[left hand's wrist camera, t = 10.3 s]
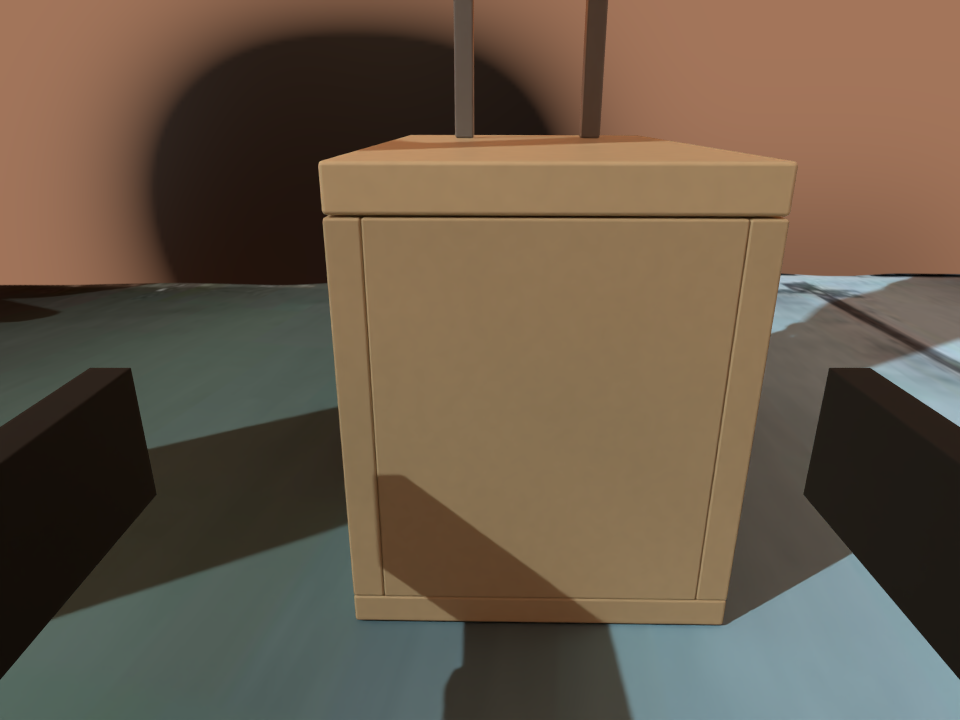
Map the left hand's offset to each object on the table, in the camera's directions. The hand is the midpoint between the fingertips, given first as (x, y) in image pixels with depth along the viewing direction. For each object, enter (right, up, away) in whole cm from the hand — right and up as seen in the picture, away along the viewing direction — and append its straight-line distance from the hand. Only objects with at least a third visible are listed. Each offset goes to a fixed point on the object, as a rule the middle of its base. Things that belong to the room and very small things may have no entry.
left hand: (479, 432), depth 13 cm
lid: (+2, +7, +8) cm, 11 cm away
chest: (+2, -3, +12) cm, 13 cm away
